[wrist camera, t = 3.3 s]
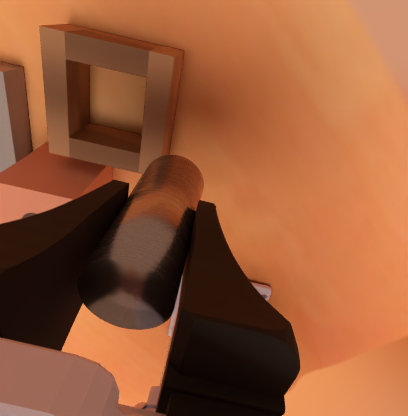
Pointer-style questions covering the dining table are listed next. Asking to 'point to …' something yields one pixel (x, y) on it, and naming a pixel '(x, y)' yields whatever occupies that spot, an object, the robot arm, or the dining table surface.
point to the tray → (13, 116)
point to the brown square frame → (80, 95)
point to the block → (46, 183)
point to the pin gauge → (145, 248)
